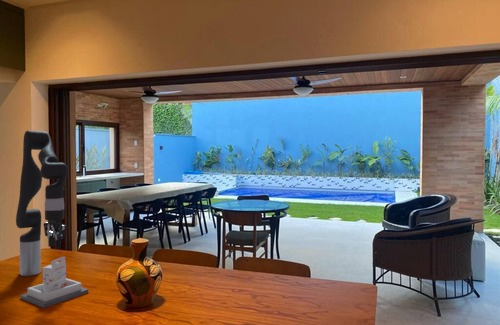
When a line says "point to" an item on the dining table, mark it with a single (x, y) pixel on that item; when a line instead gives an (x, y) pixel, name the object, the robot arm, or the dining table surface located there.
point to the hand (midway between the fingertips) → (54, 247)
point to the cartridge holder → (54, 294)
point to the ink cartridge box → (54, 275)
